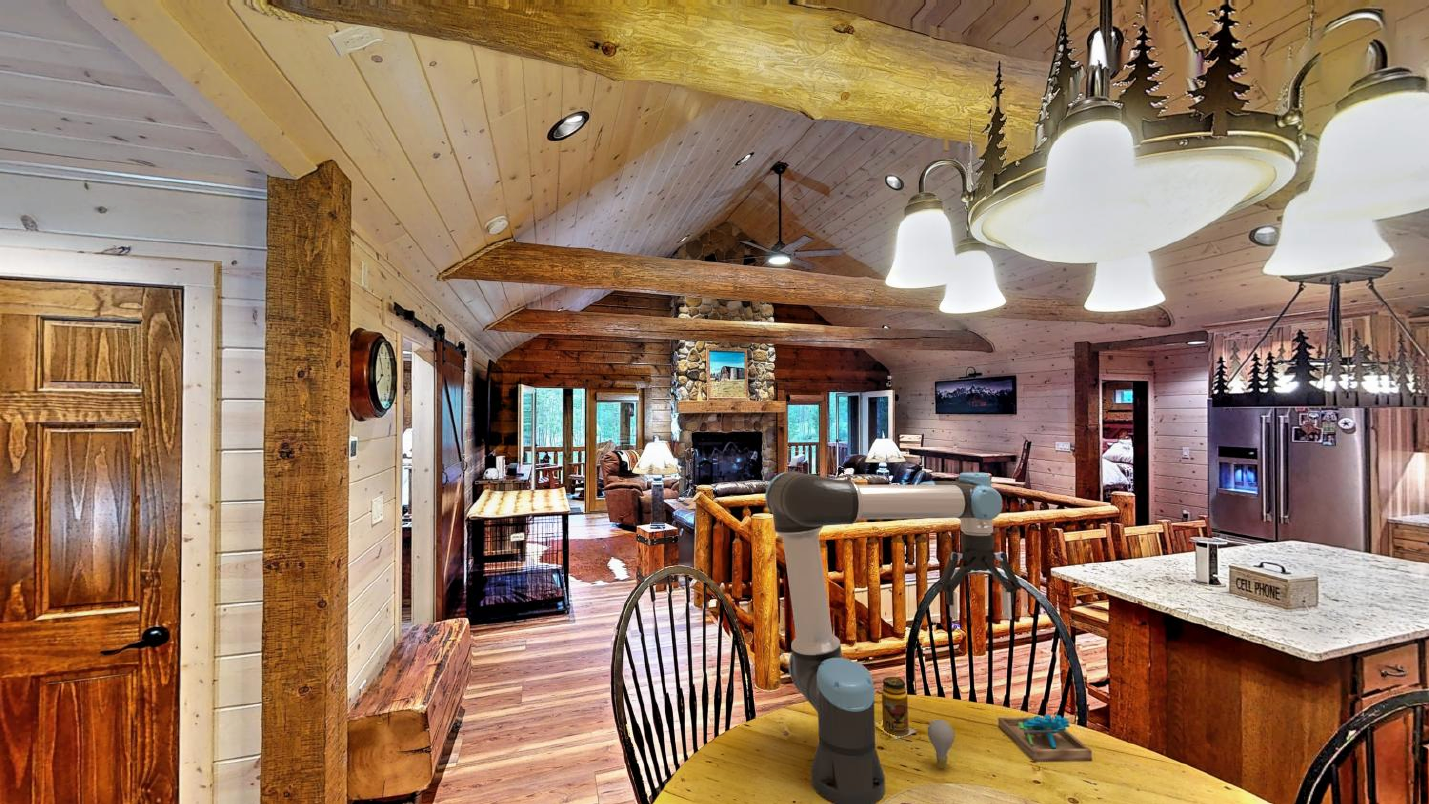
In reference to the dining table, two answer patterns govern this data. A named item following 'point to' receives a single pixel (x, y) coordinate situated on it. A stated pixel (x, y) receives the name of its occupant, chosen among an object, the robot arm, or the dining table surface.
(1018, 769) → the dining table surface
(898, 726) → the condiment
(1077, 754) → the tray
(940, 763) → the light bulb
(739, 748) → the dining table surface
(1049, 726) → the blue and green toy
